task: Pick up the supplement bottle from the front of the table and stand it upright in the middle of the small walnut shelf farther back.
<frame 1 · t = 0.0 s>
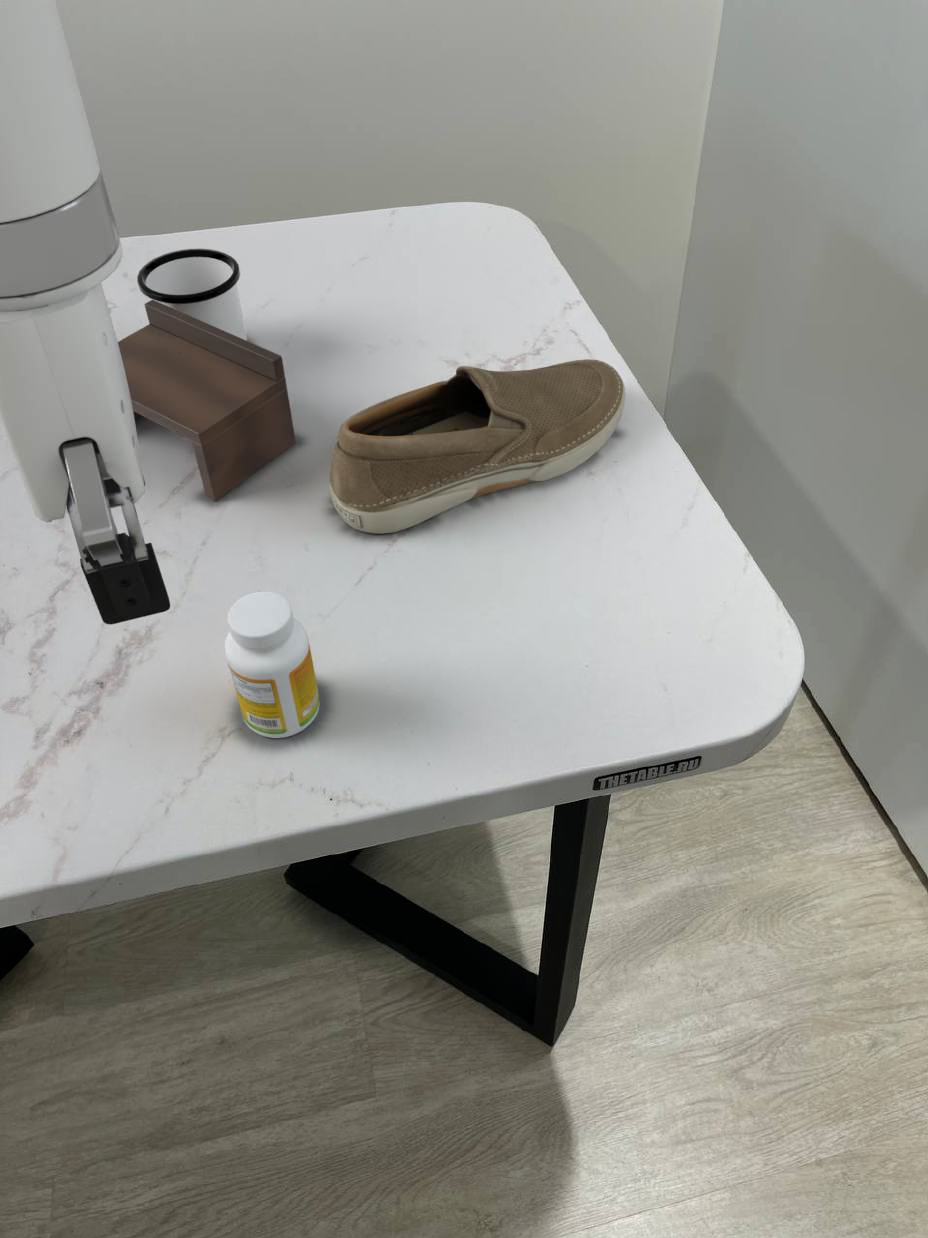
hand: (126, 549, 52), 20 cm above the table, tool pointing down, fingers open, 9 cm apart
supplement bottle: (282, 710, 71), on the table
slip on shoe: (485, 461, 89), on the table
shelf: (193, 439, 92), on the table
mug: (205, 351, 102), on the table
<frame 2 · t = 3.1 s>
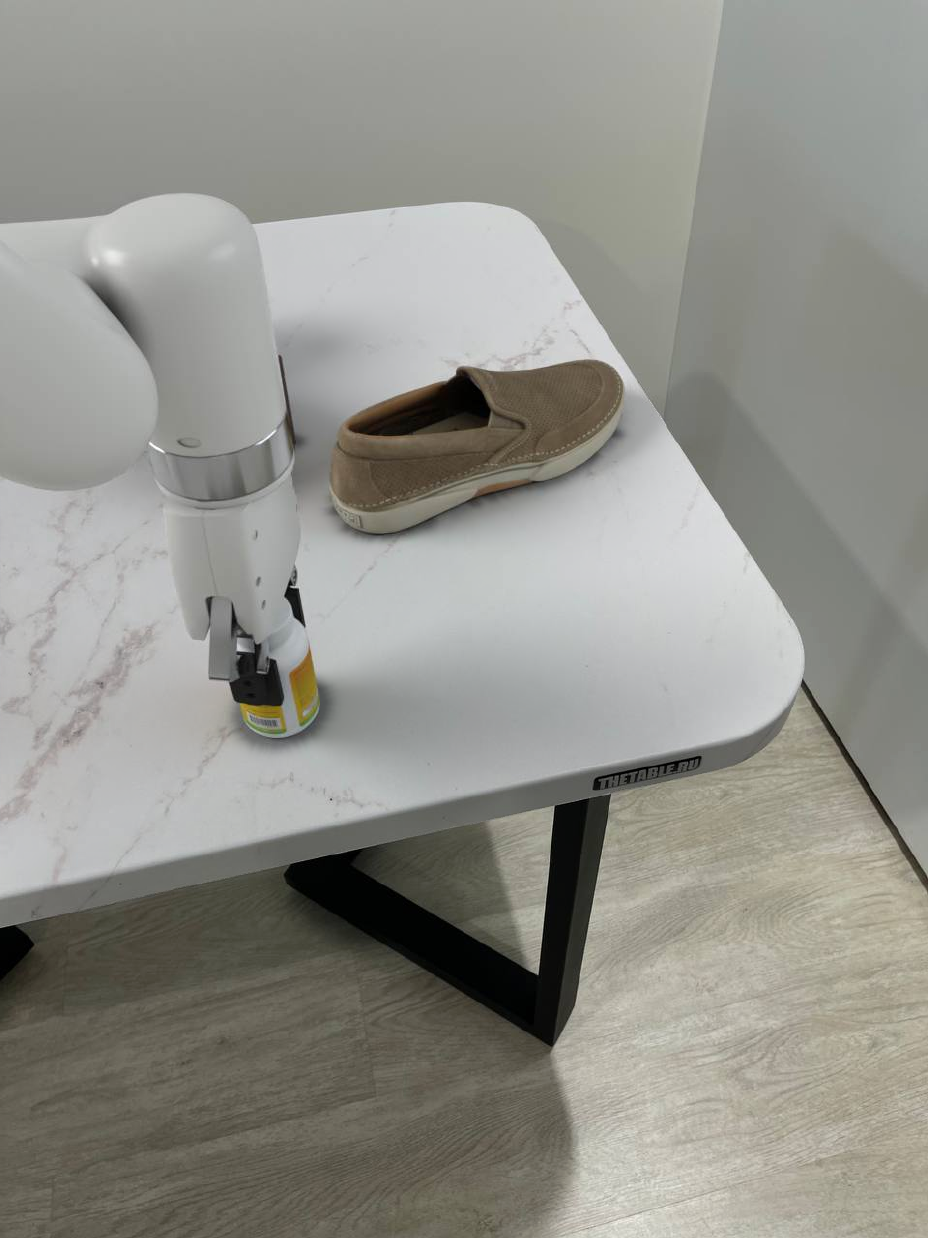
hand: (271, 663, 67), 5 cm above the table, tool pointing down, fingers closed on supplement bottle, 5 cm apart
supplement bottle: (282, 710, 71), on the table, touching gripper
everything else where it was.
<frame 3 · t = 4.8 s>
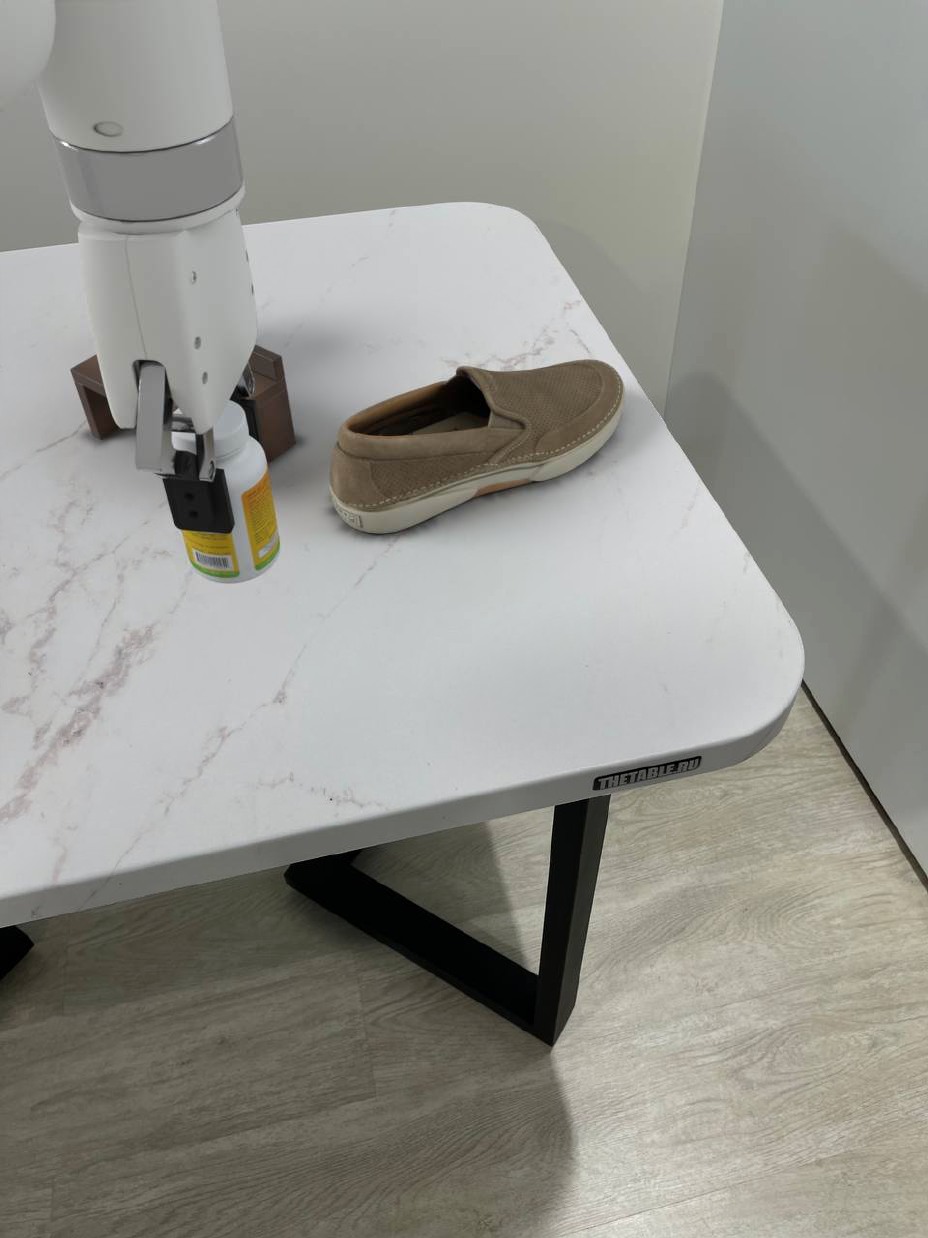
hand: (221, 489, 57), 19 cm above the table, tool pointing down, fingers closed on supplement bottle, 5 cm apart
supplement bottle: (236, 557, 60), point 14 cm above the table, touching gripper
everything else where it was.
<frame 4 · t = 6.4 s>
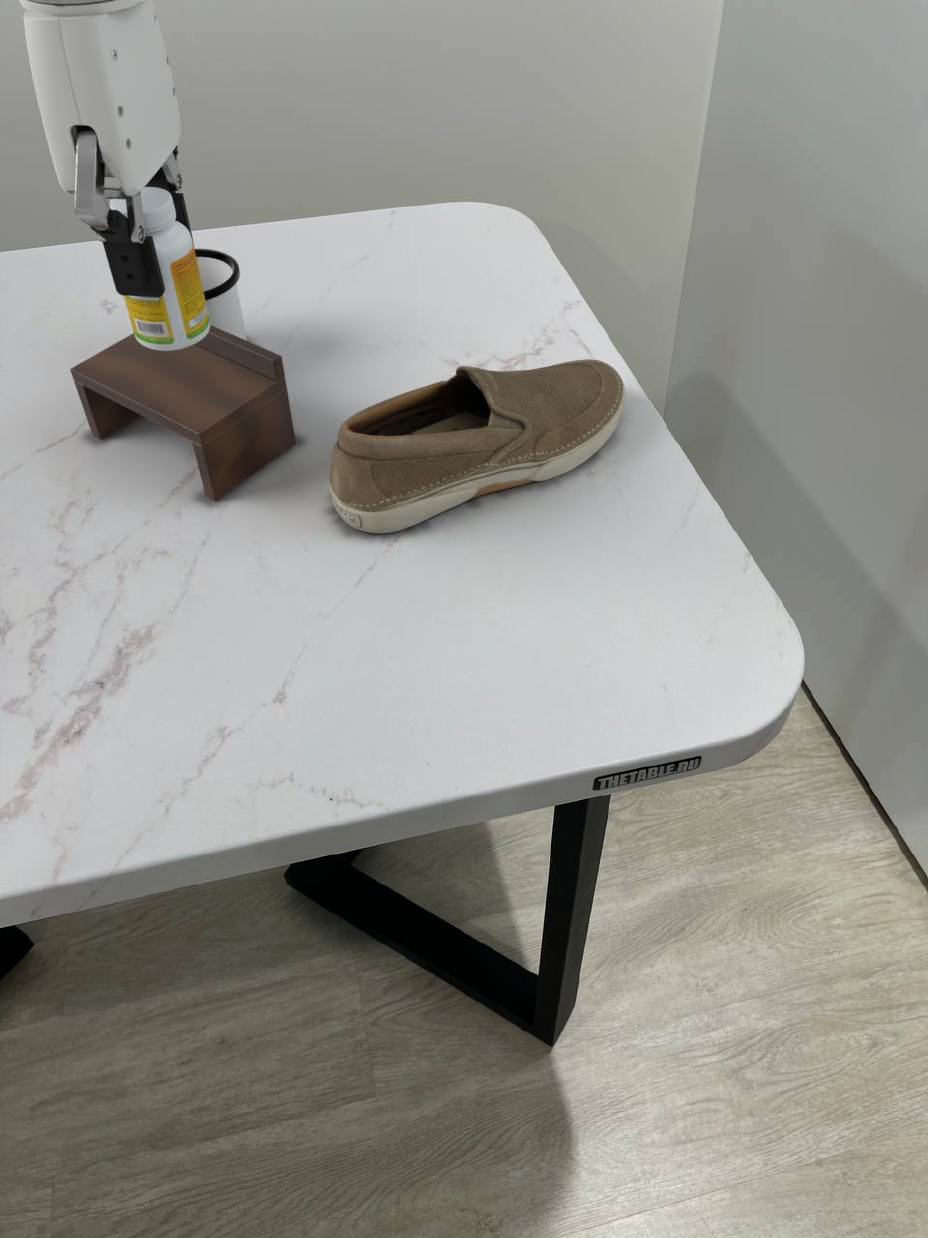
hand: (156, 268, 69), 22 cm above the table, tool pointing down, fingers closed on supplement bottle, 5 cm apart
supplement bottle: (174, 335, 73), point 17 cm above the table, touching gripper
everything else where it was.
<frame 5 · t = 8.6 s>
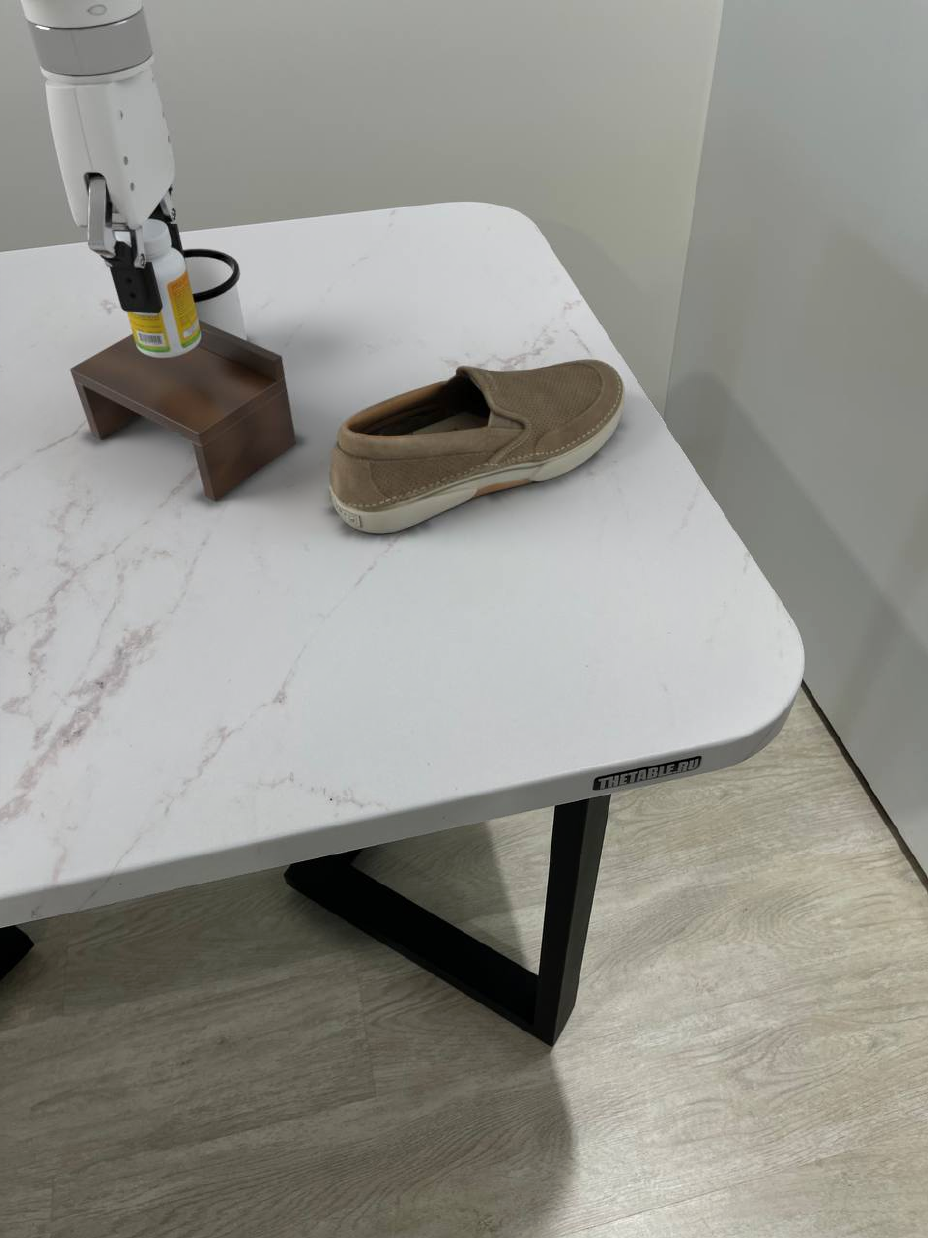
hand: (155, 288, 81), 15 cm above the table, tool pointing down, fingers closed on supplement bottle, 5 cm apart
supplement bottle: (170, 344, 85), point 10 cm above the table, touching gripper
everything else where it was.
when the fingers open (12 cm above the table, at t = 9.9 s): supplement bottle stays where it is, resting on shelf.
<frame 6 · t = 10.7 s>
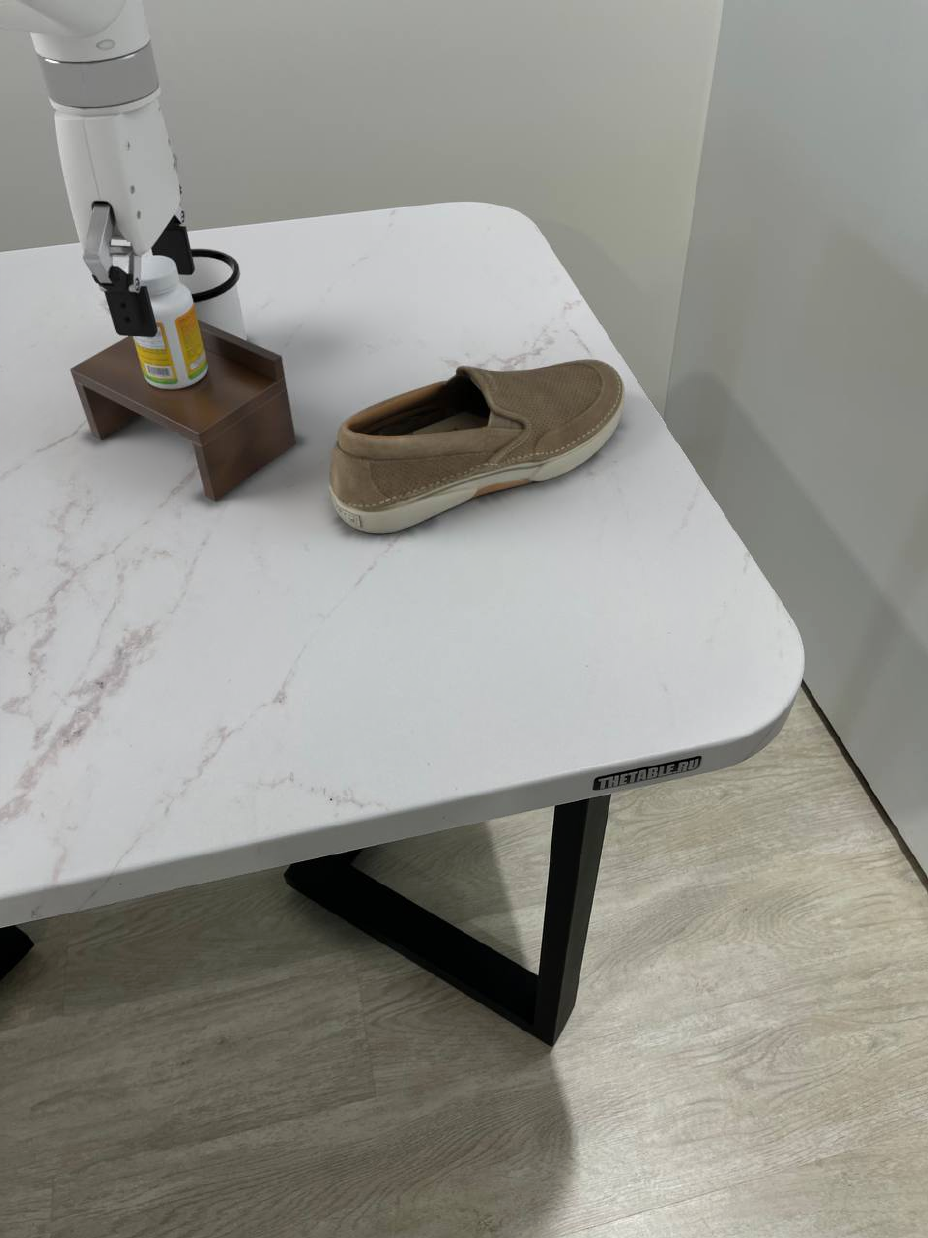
hand: (157, 302, 82), 14 cm above the table, tool pointing down, fingers open, 9 cm apart
supplement bottle: (177, 375, 87), point 7 cm above the table, touching shelf
everything else where it was.
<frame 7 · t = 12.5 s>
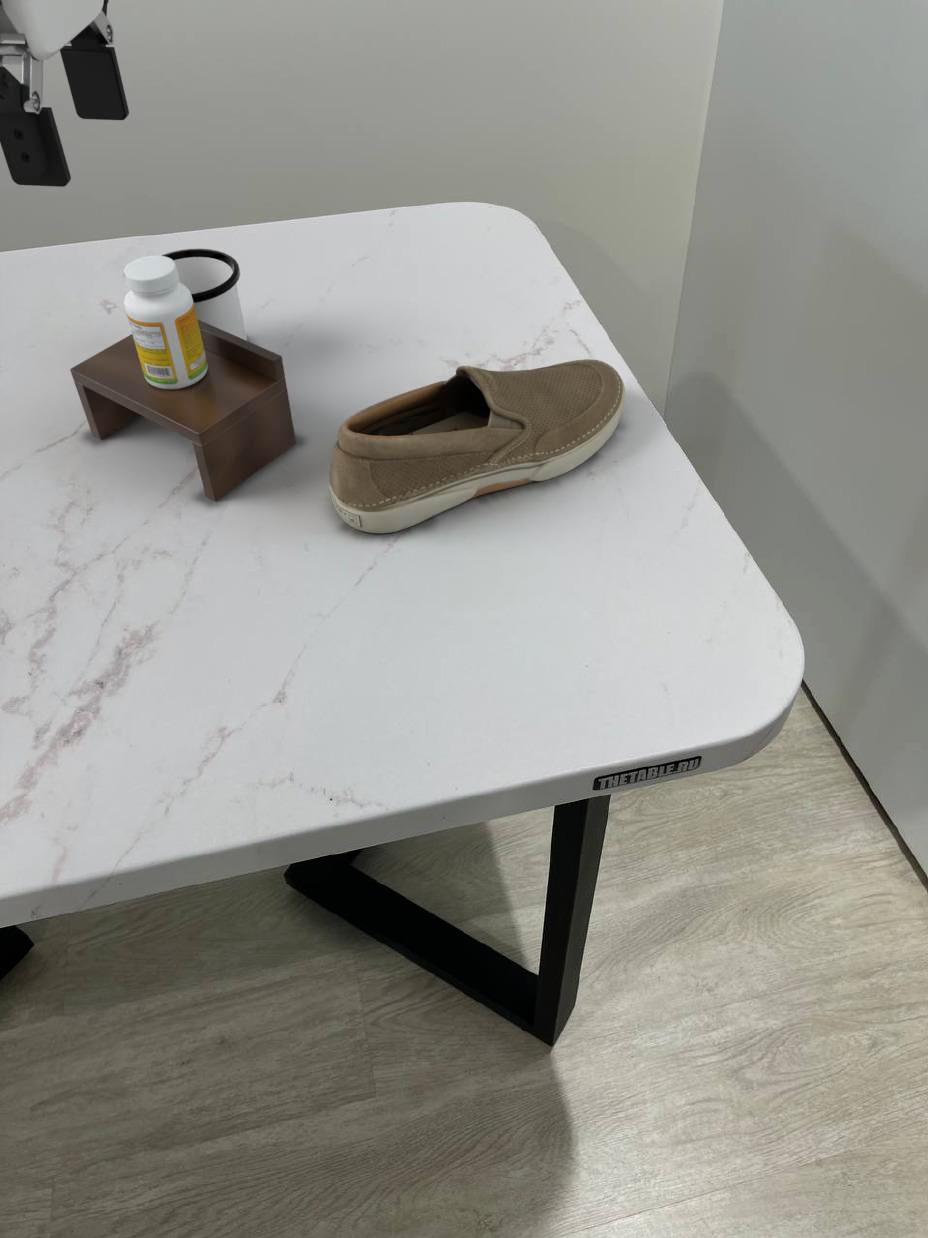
hand: (75, 148, 60), 31 cm above the table, tool pointing down, fingers open, 9 cm apart
nothing on the table moved.
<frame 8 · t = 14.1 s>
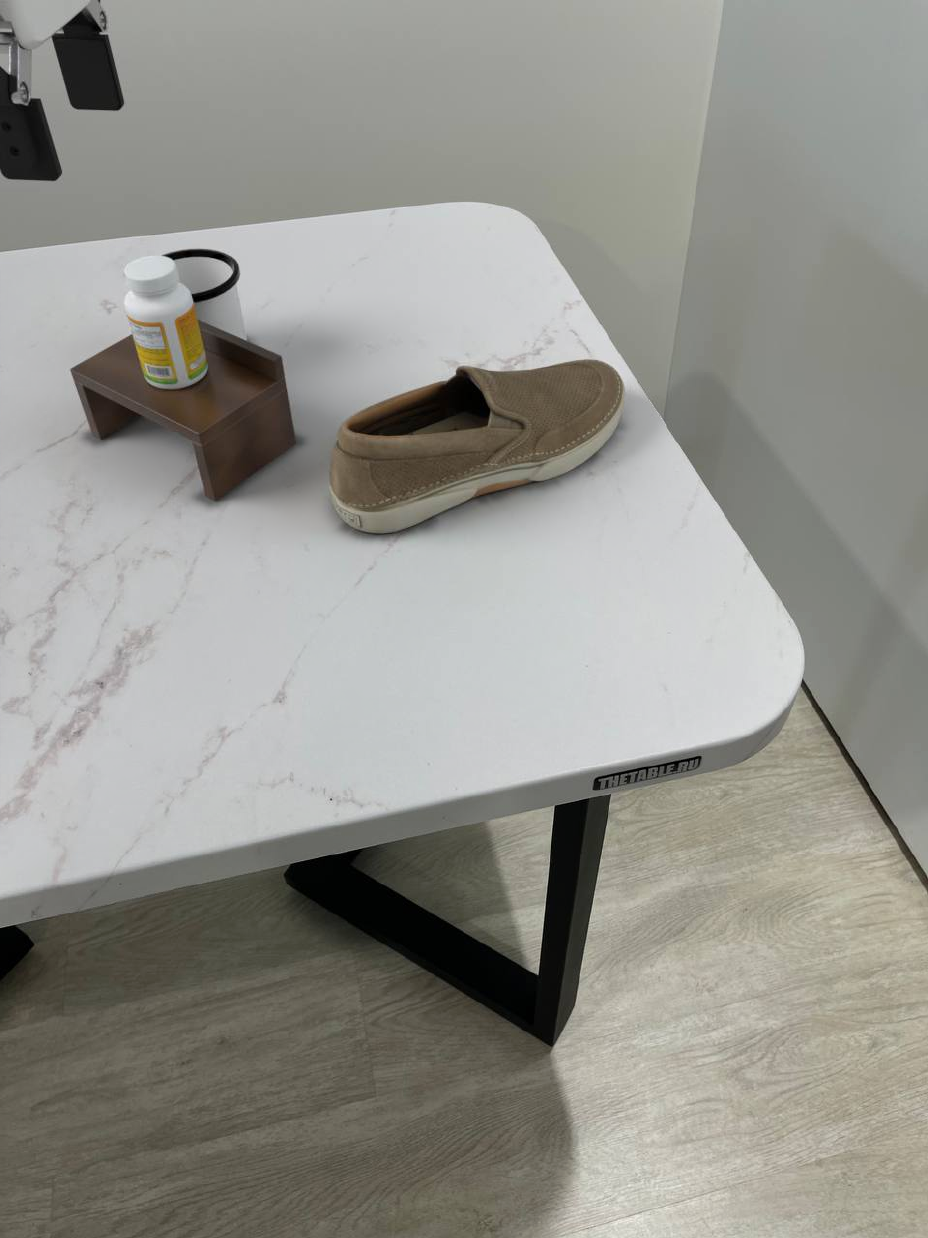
hand: (68, 140, 58), 32 cm above the table, tool pointing down, fingers open, 9 cm apart
nothing on the table moved.
at the end: supplement bottle inside the target area on the shelf (0.1 cm from its centre), point 6.8 cm above the shelf's base; supplement bottle tilted 0°; the gripper is holding nothing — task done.
